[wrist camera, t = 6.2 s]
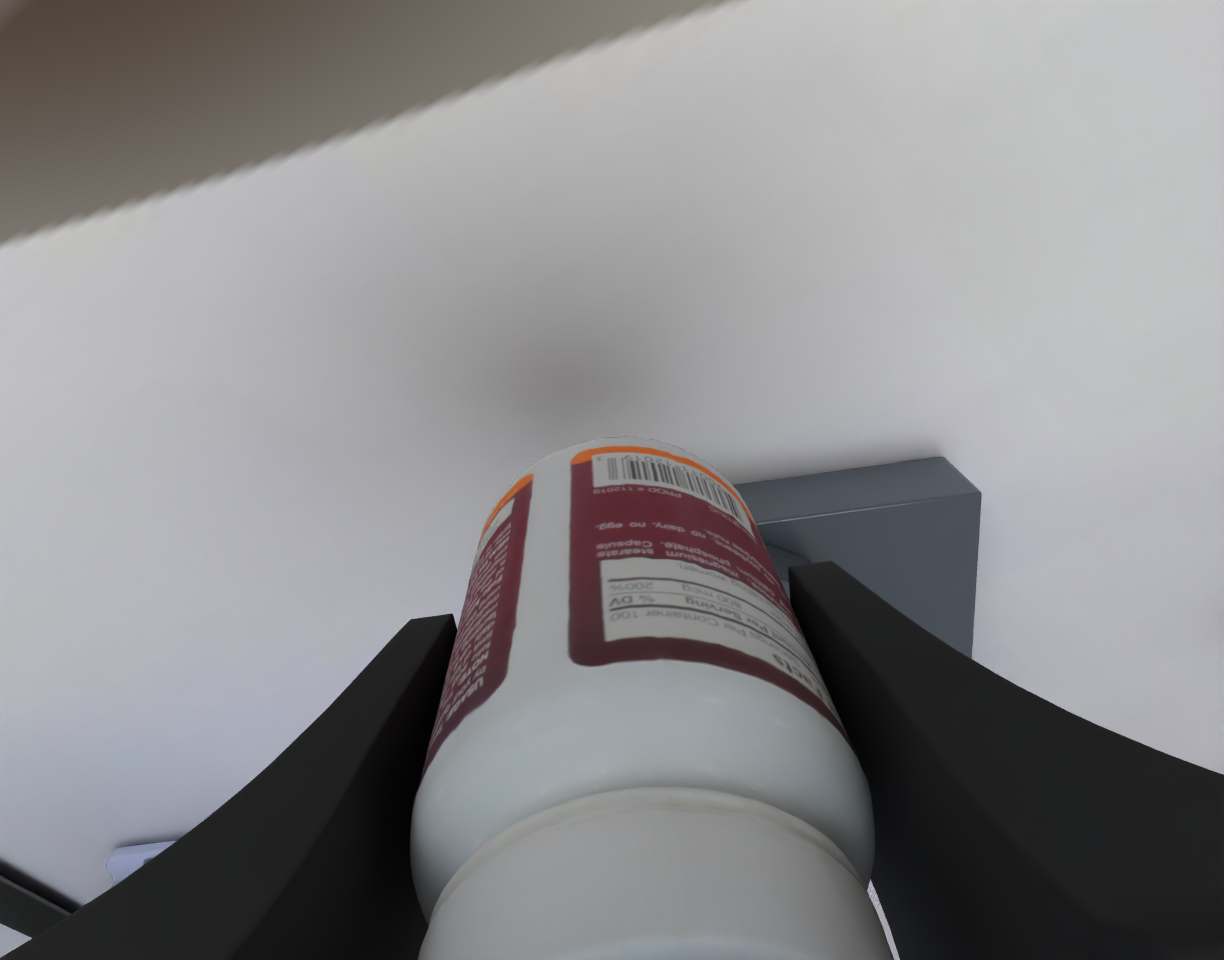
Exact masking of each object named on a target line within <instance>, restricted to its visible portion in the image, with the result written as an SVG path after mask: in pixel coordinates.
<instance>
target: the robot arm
mask: <svg viewBox="0 0 1224 960" xmlns="http://www.w3.org/2000/svg"><path fill="white" fill-rule="evenodd" d="M788 574H789V590H790V603H791V606H792V609H793V611H794V613H795V616H796V618H797V620H798V622H799V625H800V627H801V630H802V632H803V634H804V636H805V639H806V641H807V643H808V646H809V648H810V651H811V653H812V655H813V657H814V659H815V661H816V664H817V666H818V669H819V672H820V674H821V677H822V679H823V681H824V683H825V685H826V687H827V690H828V692H829V694H830V697H831V699H832V702H833V704H834V706H835V708H836V711H837V713H838V715H839V717H840V719H841V722H842V724H843V726H844V728H845V731H846V733H847V735H848V738H849V740H850V742H851V743H852V745H853V747H854V748H855V750H856V752H857V754H858V757H859V760H860V762H861V765H862V768H863V770H864V773H865V775H866V778H867V780H868V783H869V788H870V793H871V798H872V806H873V816H874V826H875V855H874V863H873V869H872V874H871V878H870V879H871V881H872V884H873V886H874V888H875V890H876V893H877V895H878V898H879V901H880V903H881V906H882V909H883V911H884V914H885V916H886V919H887V922H888V924H889V927H890V930H891V933H892V936H893V939H894V942H895V945H896V948H897V951H898V954H899V957H900V960H1224V775H1223V774H1220V773H1217V772H1214V771H1211V770H1208V769H1205V768H1203V767H1200V766H1197V765H1195V764H1192V763H1189V762H1187V761H1184V760H1181V759H1179V758H1176V757H1173V756H1171V755H1168V754H1165V753H1163V752H1160V751H1158V750H1155V749H1153V748H1151V747H1148V746H1146V745H1144V744H1141V743H1139V742H1136V741H1134V740H1132V739H1129V738H1127V737H1124V736H1122V735H1120V734H1117V733H1115V732H1113V731H1110V730H1108V729H1105V728H1103V727H1101V726H1098V725H1096V724H1094V723H1092V722H1090V721H1088V720H1085V719H1083V718H1081V717H1079V716H1077V715H1074V714H1072V713H1070V712H1068V711H1066V710H1064V709H1062V708H1060V707H1058V706H1056V705H1054V704H1052V703H1050V702H1048V701H1046V700H1044V699H1043V698H1041V697H1039V696H1037V695H1035V694H1033V693H1031V692H1029V691H1027V690H1025V689H1023V688H1021V687H1019V686H1017V685H1015V684H1013V683H1012V682H1010V681H1008V680H1006V679H1004V678H1003V677H1001V676H999V675H997V674H995V673H994V672H992V671H990V670H989V669H987V668H985V667H984V666H982V665H980V664H979V663H977V662H976V661H974V660H972V659H971V658H969V657H967V656H966V655H964V654H962V653H961V652H959V651H957V650H956V649H954V648H953V647H951V646H950V645H948V644H946V643H945V642H943V641H942V640H940V639H939V638H937V637H936V636H934V635H933V634H931V633H930V632H928V631H927V630H925V629H924V628H922V627H921V626H919V625H918V624H917V623H915V622H914V621H912V620H911V619H909V618H908V617H907V616H905V615H904V614H902V613H901V612H900V611H898V610H897V609H895V608H894V607H893V606H891V605H890V604H889V603H887V602H886V601H885V600H883V599H882V598H881V597H879V596H878V595H877V594H875V593H874V592H873V591H871V590H870V589H869V588H867V587H866V586H865V585H863V584H862V583H861V582H859V581H858V580H857V579H856V578H854V577H853V576H852V575H850V574H849V573H848V572H846V571H845V570H844V569H842V568H841V567H840V566H838V565H837V564H836V563H834V562H833V561H824V562H817V563H810V564H803V565H796V566H789V567H788ZM456 634H457V627H456V624H455V620H454V616H453V614H446V615H439V616H432V617H424V618H417V619H411V620H410V621H409V622H408V623H407V624H406V625H405V626H404V627H403V628H402V629H401V630H400V631H399V632H398V633H397V634H396V635H395V636H394V637H393V638H392V639H391V640H390V641H389V643H388V644H387V645H386V646H385V647H384V648H383V649H382V650H381V651H380V652H379V653H378V655H377V656H376V657H375V658H374V659H373V660H372V661H371V662H370V663H369V664H368V666H367V667H366V668H365V669H364V670H363V671H362V672H361V673H360V674H359V675H358V676H357V677H356V679H355V680H354V681H353V682H352V683H351V684H350V685H349V686H348V687H347V688H346V689H345V690H344V691H343V692H342V693H341V695H340V696H339V697H338V698H337V699H336V700H335V701H334V702H333V703H332V704H331V705H330V706H329V707H328V708H327V709H326V710H325V711H324V712H323V713H322V714H321V715H320V716H319V717H318V718H317V719H316V720H315V721H314V722H313V723H312V724H311V725H310V726H309V727H308V728H307V729H306V730H305V731H304V732H303V733H302V734H301V735H300V736H299V737H298V738H297V739H296V740H295V741H294V742H293V743H292V744H291V745H290V746H289V747H288V748H287V749H285V750H284V751H283V752H282V753H281V754H280V755H279V756H278V757H277V758H276V759H275V760H274V761H273V762H272V763H271V764H270V765H269V766H268V767H267V768H265V769H264V770H263V771H262V772H261V773H260V774H259V775H258V776H257V777H255V778H254V779H253V780H252V781H251V782H250V783H248V784H247V785H246V786H245V787H244V788H243V789H242V790H240V791H239V792H238V793H237V794H236V795H234V796H233V797H232V798H231V799H229V800H228V801H227V802H226V803H225V804H223V805H222V806H221V807H220V808H219V809H217V810H216V811H215V812H214V813H212V814H211V815H210V816H209V817H208V818H206V819H205V820H204V821H203V822H201V823H200V824H199V825H197V826H196V827H195V828H194V829H192V830H191V831H190V832H188V833H187V834H186V835H184V836H183V837H181V838H180V839H179V840H176V841H168V842H160V843H152V844H144V845H136V846H128V847H121V848H117V849H115V850H114V851H113V852H112V853H111V854H110V856H109V857H108V859H107V861H106V864H105V865H106V868H107V870H108V872H109V874H110V876H111V877H112V879H113V881H114V884H113V886H112V887H111V889H109V890H108V891H106V892H105V893H103V894H101V895H100V896H98V897H97V898H95V899H94V900H92V901H91V902H89V903H88V904H86V905H85V906H83V907H82V908H80V909H79V910H77V911H75V912H74V913H72V914H71V915H69V916H68V917H66V918H65V919H63V920H61V921H60V922H58V923H57V924H55V925H53V926H52V927H50V928H49V929H47V930H45V931H44V932H42V933H40V934H39V935H37V936H36V937H34V938H32V939H31V940H29V941H28V942H26V943H24V944H23V945H21V946H19V947H18V948H16V949H14V950H13V951H11V952H9V953H8V954H6V955H4V956H3V957H1V958H0V960H418V956H419V952H420V949H421V945H422V943H423V940H424V938H425V935H426V933H427V931H428V927H429V925H428V924H427V922H426V919H425V917H424V915H423V912H422V909H421V907H420V904H419V901H418V898H417V894H416V890H415V886H414V882H413V878H412V871H411V861H410V833H411V819H412V809H413V799H414V797H415V794H416V792H417V789H418V786H419V783H420V780H421V777H422V772H423V768H424V763H425V759H426V755H427V750H428V746H429V743H430V738H431V735H432V731H433V728H434V724H435V720H436V716H437V713H438V709H439V705H440V700H441V695H442V692H443V687H444V682H445V678H446V674H447V670H448V666H449V662H450V658H451V655H452V650H453V646H454V642H455V638H456Z"/></svg>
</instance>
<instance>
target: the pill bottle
mask: <svg viewBox="0 0 1224 960" xmlns="http://www.w3.org/2000/svg"><path fill="white" fill-rule="evenodd" d="M874 855H875V826H874V816H873V806H872V798H871V793H870V788H869V783H868V780H867V778H866V775H865V773H864V770H863V768H862V765H861V762H860V760H859V757H858V754H857V752H856V750H855V748H854V747H853V745H852V743H851V742H850V740H849V738H848V735H847V733H846V731H845V728H844V726H843V724H842V722H841V719H840V717H839V715H838V713H837V711H836V708H835V706H834V704H833V702H832V699H831V697H830V694H829V692H828V690H827V687H826V685H825V683H824V681H823V679H822V677H821V674H820V672H819V669H818V666H817V664H816V661H815V659H814V657H813V655H812V653H811V651H810V648H809V646H808V643H807V641H806V639H805V636H804V634H803V632H802V630H801V627H800V625H799V622H798V620H797V618H796V616H795V613H794V611H793V609H792V606H791V603H790V601H789V598H788V596H787V594H786V592H785V590H784V588H783V585H782V583H781V580H780V577H779V575H778V574H777V572H776V570H775V568H774V566H773V564H772V561H771V558H770V556H769V554H768V552H767V549H766V547H765V544H764V542H763V540H762V538H761V536H760V534H759V531H758V529H757V527H756V525H755V522H754V520H753V517H752V515H751V513H750V511H749V509H748V507H747V505H746V504H745V502H744V500H743V499H742V497H741V496H740V494H739V493H738V491H737V490H736V489H735V487H734V486H733V485H732V484H731V483H730V482H729V481H728V480H727V479H726V478H725V477H724V476H723V475H722V474H721V473H720V472H719V471H718V470H716V469H715V468H714V467H712V466H711V465H709V464H708V463H706V462H705V461H703V460H702V459H700V458H699V457H697V456H696V455H694V454H692V453H690V452H688V451H686V450H684V449H682V448H679V447H676V446H674V445H670V444H667V443H664V442H661V441H657V440H653V439H645V438H640V437H611V438H599V439H595V440H590V441H585V442H581V443H578V444H574V445H571V446H568V447H566V448H564V449H561V450H559V451H556V452H554V453H551V454H549V455H547V456H545V457H543V458H541V459H540V460H539V461H537V462H535V463H534V464H532V465H530V466H529V467H528V468H527V469H525V470H524V471H523V472H522V473H521V474H520V475H519V476H518V477H517V478H516V479H515V480H514V481H513V482H512V483H511V484H510V485H509V486H508V487H507V489H506V490H505V491H504V492H503V493H502V494H501V496H500V497H499V499H498V500H497V502H496V503H495V505H494V506H493V508H492V510H491V512H490V514H489V516H488V518H487V520H486V523H485V525H484V528H483V531H482V533H481V536H480V541H479V545H478V549H477V553H476V555H475V559H474V563H473V568H472V572H471V576H470V580H469V585H468V590H467V594H466V598H465V602H464V606H463V610H462V614H461V618H460V622H459V626H458V630H457V634H456V638H455V642H454V646H453V650H452V655H451V658H450V662H449V666H448V670H447V674H446V678H445V682H444V687H443V692H442V695H441V700H440V705H439V709H438V713H437V716H436V720H435V724H434V728H433V731H432V735H431V738H430V743H429V746H428V750H427V755H426V759H425V763H424V768H423V772H422V777H421V780H420V783H419V786H418V789H417V792H416V794H415V797H414V799H413V809H412V819H411V833H410V861H411V871H412V878H413V882H414V886H415V890H416V894H417V898H418V901H419V904H420V907H421V909H422V912H423V915H424V917H425V919H426V922H427V924H428V925H429V927H428V931H427V933H426V935H425V938H424V940H423V943H422V945H421V949H420V952H419V956H418V960H894V958H893V955H892V953H891V950H890V947H889V945H888V942H887V939H886V936H885V933H884V930H883V927H882V924H881V922H880V919H879V917H878V914H877V912H876V910H875V908H874V905H873V903H872V901H871V899H870V897H869V894H868V892H867V889H868V885H869V882H870V878H871V874H872V869H873V863H874Z"/></svg>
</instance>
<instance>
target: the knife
mask: <svg viewBox="0 0 1224 960" xmlns="http://www.w3.org/2000/svg"><path fill="white" fill-rule="evenodd" d="M71 914H72V913H70V912H68V911H66V910H65V909H63V908H61V907H59V906H57V905H55V904H53V903H51V902H50V901H48V900H46V899H44V898H42V897H40V896H38V895H36V894H35V893H33V892H31V891H29V890H27V889H25V888H23V887H21V886H20V885H18V884H16V883H14V882H12V881H10V880H8V879H6V878H5V877H3V876H1V875H0V923H1V924H3V925H5V926H7V927H10V928H12V929H14V930H16V931H18V932H20V933H23V934H25V935H27V936H29V937H31V938H34V937H36V936H37V935H39V934H40V933H42V932H44V931H45V930H47V929H49V928H50V927H52V926H53V925H55V924H57V923H58V922H60V921H61V920H63V919H65V918H66V917H68V916H69V915H71Z"/></svg>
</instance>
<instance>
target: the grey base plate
mask: <svg viewBox="0 0 1224 960" xmlns="http://www.w3.org/2000/svg"><path fill="white" fill-rule="evenodd" d="M733 486H734V487H735V489H736V490H737V491H738V493H739V494H740V496H741V497H742V499H743V500H744V502H745V504H746V505H747V507H748V509H749V511H750V513H751V515H752V517H753V520H754V522H755V525H756V527H757V529H758V531H759V534H760V536H761V538H762V540H763V542H764V544H765V547H766V549H767V552H768V554H769V556H770V558H771V561H772V564H773V566H774V568H775V570H776V572H777V574H778V575H779V577H780V580H781V583H782V585H783V588H784V590H785V592H786V594H787V596H788V598H789V601H790V590H789V574H788V567H789V566H796V565H803V564H810V563H817V562H824V561H833V562H834V563H836V564H837V565H838V566H840V567H841V568H842V569H844V570H845V571H846V572H848V573H849V574H850V575H852V576H853V577H854V578H856V579H857V580H858V581H859V582H861V583H862V584H863V585H865V586H866V587H867V588H869V589H870V590H871V591H873V592H874V593H875V594H877V595H878V596H879V597H881V598H882V599H883V600H885V601H886V602H887V603H889V604H890V605H891V606H893V607H894V608H895V609H897V610H898V611H900V612H901V613H902V614H904V615H905V616H907V617H908V618H909V619H911V620H912V621H914V622H915V623H917V624H918V625H919V626H921V627H922V628H924V629H925V630H927V631H928V632H930V633H931V634H933V635H934V636H936V637H937V638H939V639H940V640H942V641H943V642H945V643H946V644H948V645H950V646H951V647H953V648H954V649H956V650H957V651H959V652H961V653H962V654H964V655H966V656H967V657H969V658H971V659H972V644H973V628H974V611H975V594H976V577H977V561H978V544H979V527H980V511H981V491H979V490H978V489H977V488H976V487H975V486H974V485H973V484H972V483H971V482H970V481H969V480H968V479H967V478H966V477H965V476H964V475H963V474H961V473H960V472H959V471H958V470H957V469H956V468H955V467H954V466H953V465H952V464H951V463H950V462H949V461H948V460H947V459H946V458H945V457H938V458H931V459H924V460H916V461H909V462H902V463H894V464H887V465H880V466H872V467H865V468H858V469H850V470H843V471H836V472H828V473H821V474H814V475H806V476H799V477H792V478H784V479H777V480H770V481H762V482H755V483H748V484H740V485H733Z"/></svg>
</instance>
